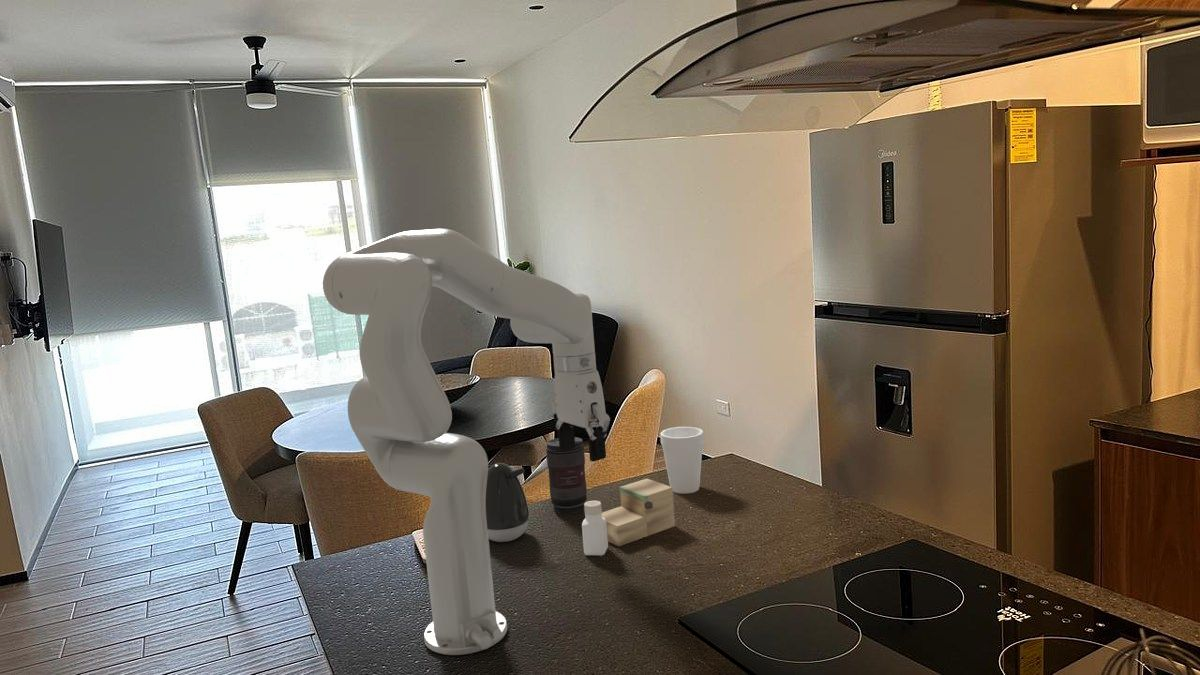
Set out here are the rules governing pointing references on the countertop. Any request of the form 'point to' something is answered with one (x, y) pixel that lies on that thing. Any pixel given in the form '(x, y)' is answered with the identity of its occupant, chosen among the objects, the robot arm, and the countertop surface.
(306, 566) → the countertop surface
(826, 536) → the countertop surface
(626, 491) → the wooden step block
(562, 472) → the camera lens
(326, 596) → the countertop surface
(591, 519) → the salt shaker
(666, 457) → the foam cup
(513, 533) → the pump dispenser
